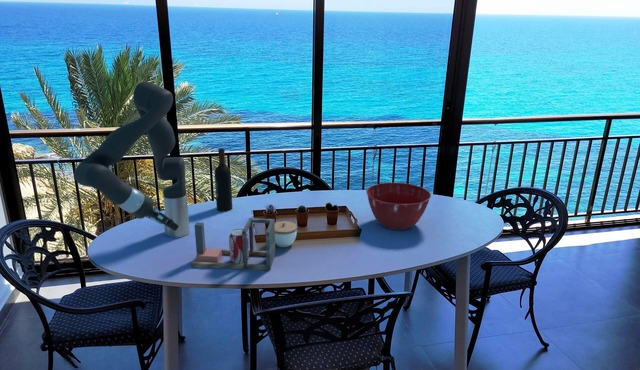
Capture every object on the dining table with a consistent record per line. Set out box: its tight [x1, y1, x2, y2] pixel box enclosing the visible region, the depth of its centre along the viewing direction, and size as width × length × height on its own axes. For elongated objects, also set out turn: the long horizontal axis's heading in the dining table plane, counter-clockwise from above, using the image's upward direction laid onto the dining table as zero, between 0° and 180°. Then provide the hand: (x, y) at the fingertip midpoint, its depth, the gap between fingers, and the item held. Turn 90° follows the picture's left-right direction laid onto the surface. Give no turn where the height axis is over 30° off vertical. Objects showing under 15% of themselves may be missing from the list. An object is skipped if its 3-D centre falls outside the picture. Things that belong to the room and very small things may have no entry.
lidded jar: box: [275, 221, 298, 248], centre depth 181 cm, size 11×11×9 cm
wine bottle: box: [214, 147, 233, 212], centre depth 213 cm, size 8×8×30 cm
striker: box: [193, 222, 223, 263], centre depth 166 cm, size 8×6×14 cm
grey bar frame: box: [190, 217, 276, 271], centre depth 166 cm, size 29×12×15 cm, turn 87°
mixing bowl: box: [366, 182, 432, 231], centre depth 201 cm, size 28×28×15 cm
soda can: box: [228, 228, 250, 264], centre depth 166 cm, size 7×7×12 cm
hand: (170, 224), depth 155 cm, fingers open, 8 cm apart
